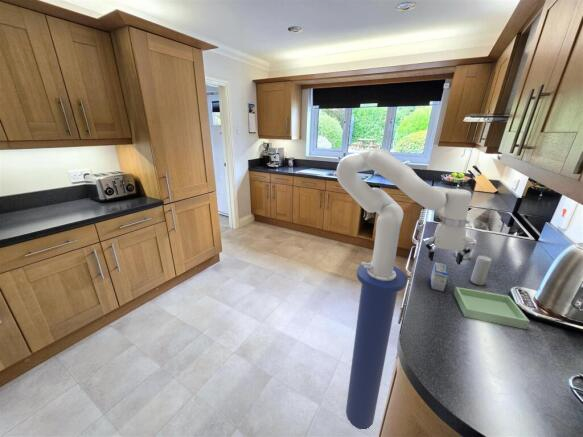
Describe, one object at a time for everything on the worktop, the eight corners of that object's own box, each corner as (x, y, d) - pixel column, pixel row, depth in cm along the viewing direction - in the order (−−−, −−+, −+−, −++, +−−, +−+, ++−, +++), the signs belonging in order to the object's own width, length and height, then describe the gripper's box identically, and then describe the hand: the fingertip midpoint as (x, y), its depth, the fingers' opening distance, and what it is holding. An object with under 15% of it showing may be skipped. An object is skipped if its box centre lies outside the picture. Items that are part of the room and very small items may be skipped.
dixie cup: (453, 258, 125) (458, 240, 121) (451, 251, 132) (455, 234, 128) (472, 262, 121) (478, 244, 118) (469, 254, 128) (474, 237, 125)
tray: (464, 316, 85) (466, 309, 84) (453, 293, 97) (455, 286, 96) (526, 329, 80) (529, 321, 78) (506, 303, 92) (509, 296, 91)
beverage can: (468, 278, 107) (475, 254, 103) (481, 280, 106) (489, 256, 102) (472, 284, 103) (480, 259, 99) (485, 286, 101) (494, 261, 97)
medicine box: (430, 279, 107) (434, 261, 104) (442, 281, 105) (446, 264, 102) (431, 288, 100) (435, 270, 97) (443, 291, 98) (448, 273, 95)
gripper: (476, 220, 93) (465, 260, 99) (426, 216, 99) (419, 254, 104) (483, 227, 87) (472, 269, 92) (429, 222, 92) (422, 262, 97)
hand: (444, 261), depth 98 cm, fingers open, 9 cm apart
